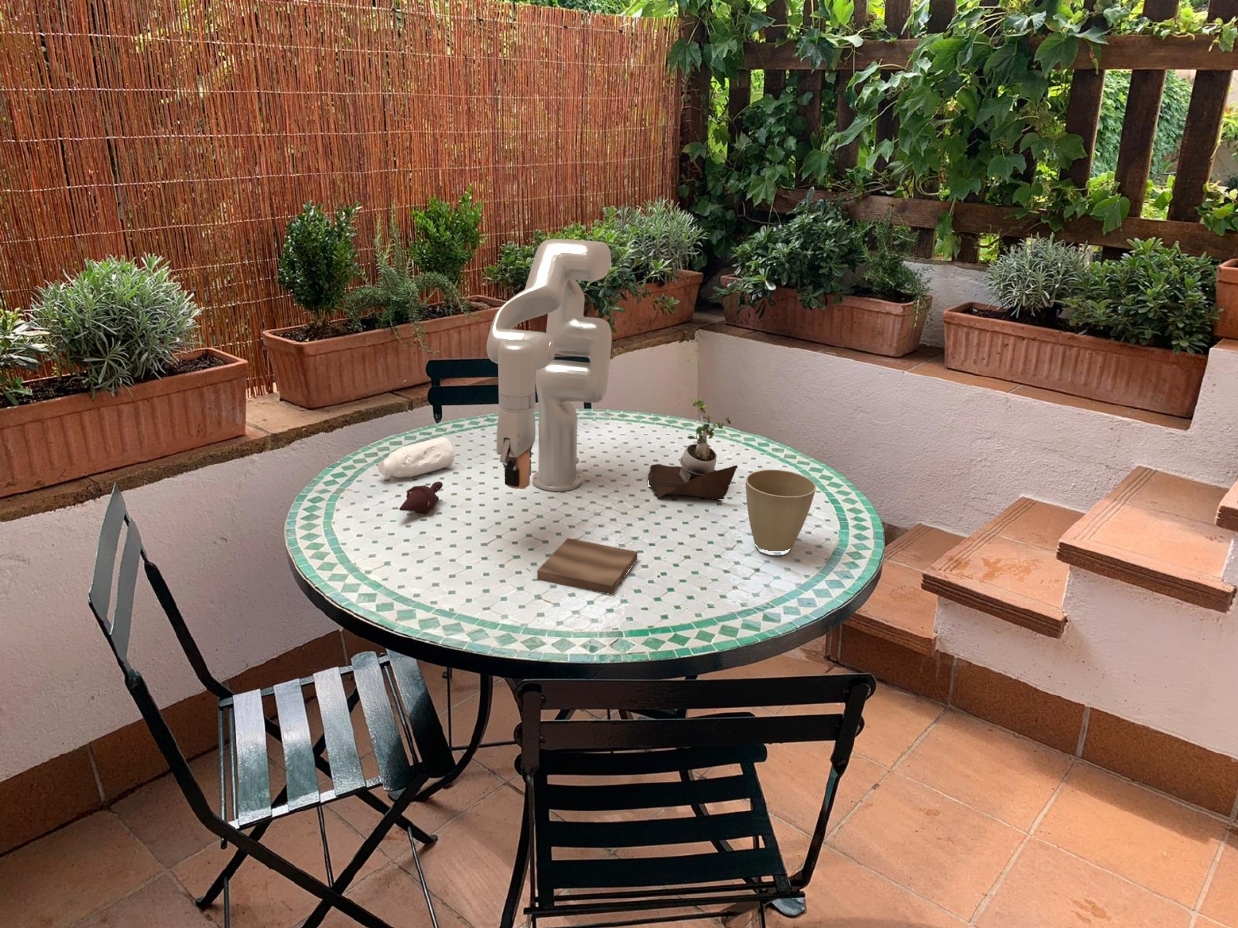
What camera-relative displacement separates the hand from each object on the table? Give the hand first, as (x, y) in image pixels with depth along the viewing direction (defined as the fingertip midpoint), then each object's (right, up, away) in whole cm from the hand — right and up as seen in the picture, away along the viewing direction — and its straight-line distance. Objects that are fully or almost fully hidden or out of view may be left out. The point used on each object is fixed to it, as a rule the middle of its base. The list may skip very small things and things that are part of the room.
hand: (518, 479), depth 197 cm
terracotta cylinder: (0, -1, 0) cm, 1 cm away
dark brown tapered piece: (-24, -8, +16) cm, 30 cm away
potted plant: (+39, -3, +36) cm, 53 cm away
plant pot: (+56, -16, +6) cm, 58 cm away
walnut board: (+15, -19, -6) cm, 25 cm away
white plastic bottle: (-29, 0, +38) cm, 48 cm away
